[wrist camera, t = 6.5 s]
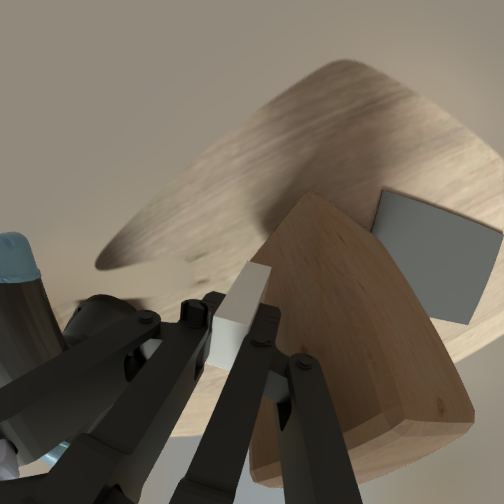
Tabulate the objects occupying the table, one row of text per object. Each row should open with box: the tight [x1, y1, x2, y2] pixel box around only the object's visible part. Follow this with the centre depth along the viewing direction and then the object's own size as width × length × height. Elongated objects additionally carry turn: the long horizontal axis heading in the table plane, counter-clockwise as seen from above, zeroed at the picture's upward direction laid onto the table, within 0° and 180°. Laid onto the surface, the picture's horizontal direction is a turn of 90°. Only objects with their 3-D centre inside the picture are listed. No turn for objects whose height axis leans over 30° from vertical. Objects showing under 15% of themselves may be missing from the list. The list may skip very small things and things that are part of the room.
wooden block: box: [249, 192, 475, 488], centre depth 19 cm, size 10×10×20 cm
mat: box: [371, 190, 504, 325], centre depth 27 cm, size 17×12×1 cm
